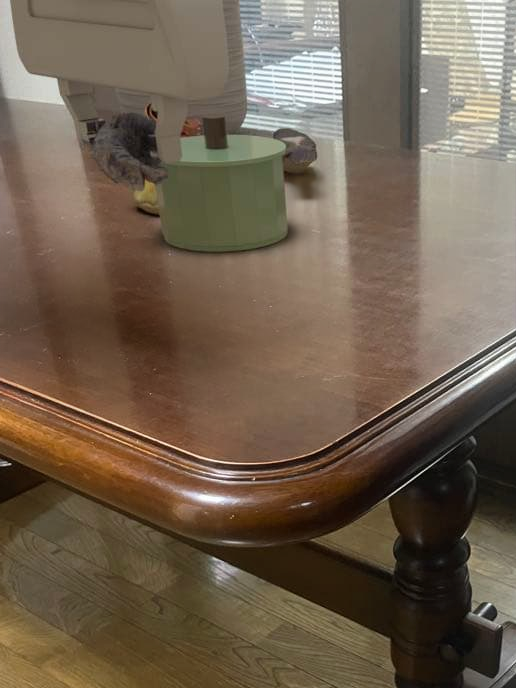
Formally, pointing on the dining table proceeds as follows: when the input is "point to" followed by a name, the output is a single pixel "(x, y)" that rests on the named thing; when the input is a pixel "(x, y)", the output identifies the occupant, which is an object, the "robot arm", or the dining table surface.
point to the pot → (223, 206)
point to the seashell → (128, 151)
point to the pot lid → (226, 147)
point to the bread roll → (147, 198)
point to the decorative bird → (296, 150)
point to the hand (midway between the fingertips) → (129, 152)
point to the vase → (233, 93)
